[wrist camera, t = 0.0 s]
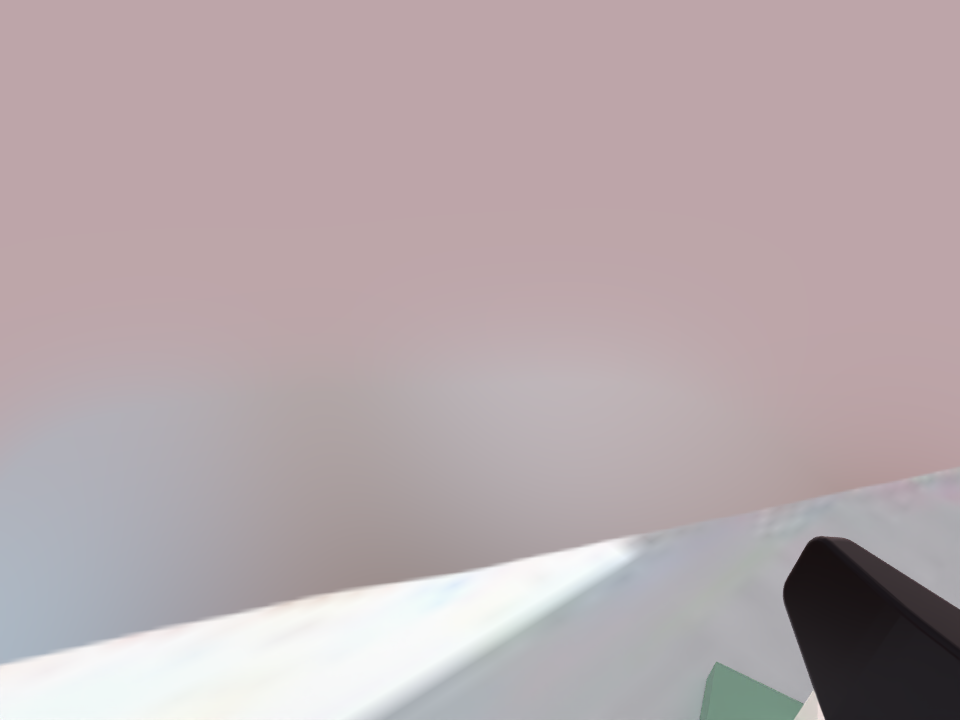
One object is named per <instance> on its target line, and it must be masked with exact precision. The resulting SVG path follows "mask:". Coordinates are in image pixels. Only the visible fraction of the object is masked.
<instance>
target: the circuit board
mask: <svg viewBox="0 0 960 720" xmlns="http://www.w3.org/2000/svg"><path fill="white" fill-rule="evenodd" d="M700 720H825V719H824V716H823V713H822V711H821V708H820V705H819V703H818V700H817V697H816V694H815V691H814V690H813V691H812V693H811V694H810V696H809V697H808V699H807V701H806V702H805V704H803V703H801V702H799V701H796V700H794V699H792V698H790V697H788V696H786V695H784V694H782V693H780V692H778V691H776V690H774V689H772V688H770V687H768V686H766V685H764V684H762V683H759V682H757V681H755V680H753V679H751V678H749V677H747V676H745V675H743V674H741V673H739V672H737V671H735V670H733V669H731V668H729V667H727V666H725V665H722V664H720V663H718V662H716V663H715V665H714V667H713V669H712V671H711V672H710V674H709V676H708V678H707V681H706V687H705V693H704V698H703V704H702V709H701V715H700Z"/></svg>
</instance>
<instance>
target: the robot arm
mask: <svg viewBox="0 0 960 720" xmlns="http://www.w3.org/2000/svg"><path fill="white" fill-rule="evenodd" d="M783 600H784V605H785V608H786V611H787V614H788V616H789V619H790V622H791V625H792V628H793V631H794V634H795V637H796V639H797V642H798V645H799V648H800V651H801V654H802V657H803V660H804V662H805V665H806V668H807V671H808V674H809V677H810V680H811V683H812V685H813V688H814V691H815V694H816V697H817V700H818V703H819V705H820V708H821V711H822V713H823V716H824V719H825V720H960V609H958V608H957V607H955V606H953V605H952V604H950V603H949V602H947V601H946V600H944V599H942V598H941V597H939V596H938V595H936V594H935V593H933V592H931V591H930V590H928V589H927V588H925V587H924V586H922V585H920V584H919V583H917V582H916V581H914V580H912V579H911V578H909V577H908V576H906V575H905V574H903V573H901V572H900V571H898V570H897V569H895V568H894V567H892V566H890V565H889V564H887V563H886V562H884V561H883V560H881V559H879V558H878V557H876V556H875V555H873V554H872V553H870V552H868V551H867V550H865V549H864V548H862V547H860V546H859V545H857V544H856V543H854V542H852V541H851V540H848V539H845V538H839V537H825V536H819V537H815V538H813V539H812V540H810V541H809V542H808V544H807V545H806V547H805V548H804V550H803V552H802V554H801V555H800V557H799V559H798V560H797V562H796V564H795V566H794V567H793V569H792V571H791V573H790V574H789V576H788V578H787V580H786V582H785V584H784V588H783Z"/></svg>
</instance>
